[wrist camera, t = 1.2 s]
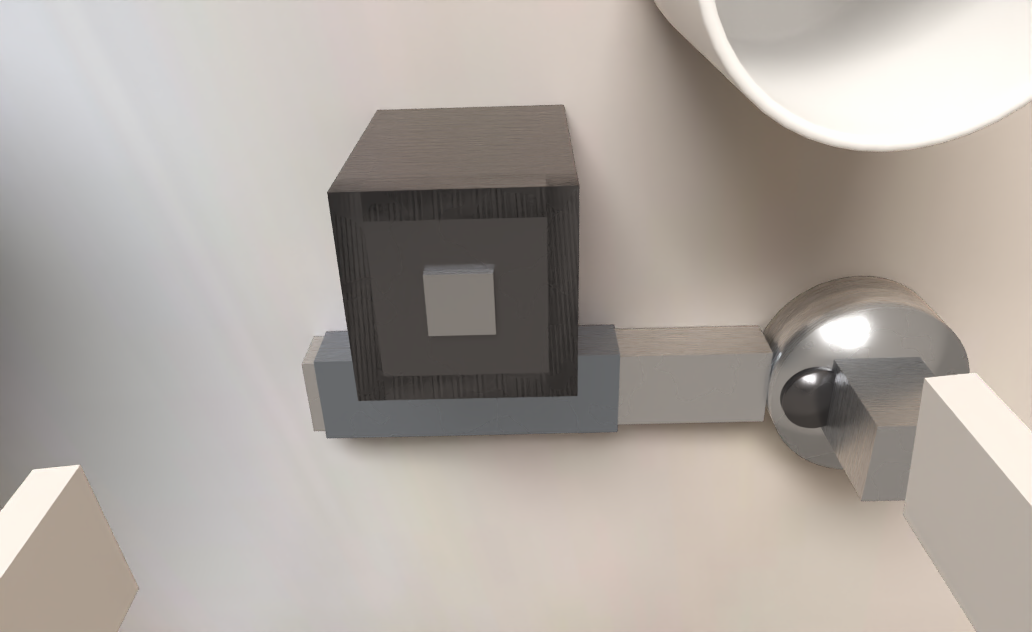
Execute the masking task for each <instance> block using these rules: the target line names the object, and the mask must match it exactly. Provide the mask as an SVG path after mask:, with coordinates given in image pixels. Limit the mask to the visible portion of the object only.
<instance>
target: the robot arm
mask: <svg viewBox="0 0 1032 632" xmlns="http://www.w3.org/2000/svg"><path fill="white" fill-rule="evenodd" d="M903 516H904V517H905V519H906V520H907V522H908V524H909V525H910V527H911V528H912V530H913V532H914V533H915V535H916V536H917V538H918V540H919V541H920V543H921V544H922V546H923V548H924V549H925V551H926V552H927V554H928V556H929V557H930V559H931V560H932V562H933V564H934V565H935V567H936V568H937V570H938V572H939V573H940V575H941V576H942V578H943V580H944V581H945V583H946V584H947V586H948V588H949V589H950V591H951V592H952V594H953V595H954V597H955V599H956V600H957V602H958V603H959V605H960V607H961V608H962V610H963V611H964V613H965V615H966V616H967V618H968V619H969V621H970V623H971V624H972V626H973V627H974V629H975V631H976V632H1032V431H1031V430H1030V429H1029V428H1028V427H1027V426H1026V425H1025V424H1024V423H1023V422H1022V421H1021V420H1020V419H1019V418H1018V417H1017V416H1016V415H1015V413H1014V412H1013V411H1012V410H1011V409H1010V408H1009V407H1008V406H1007V405H1006V404H1005V403H1004V402H1003V401H1002V400H1001V399H1000V398H999V397H998V396H997V394H996V393H995V392H994V391H993V390H992V389H991V388H990V387H989V386H988V385H987V384H986V383H985V382H984V381H983V380H982V379H981V378H980V377H979V375H978V374H977V373H968V374H958V375H948V376H938V377H929V378H924V384H923V390H922V397H921V403H920V409H919V416H918V422H917V429H916V435H915V441H914V448H913V454H912V460H911V467H910V473H909V479H908V486H907V492H906V499H905V505H904V511H903ZM138 590H139V587H138V585H137V583H136V581H135V579H134V577H133V575H132V573H131V571H130V568H129V566H128V564H127V562H126V560H125V558H124V556H123V554H122V552H121V549H120V547H119V545H118V543H117V541H116V539H115V537H114V535H113V533H112V531H111V528H110V526H109V524H108V522H107V520H106V518H105V516H104V514H103V512H102V509H101V507H100V505H99V503H98V501H97V499H96V497H95V495H94V493H93V490H92V488H91V486H90V484H89V482H88V480H87V478H86V476H85V474H84V471H83V469H82V467H81V465H72V466H62V467H53V468H43V469H33V470H32V471H31V473H30V474H29V475H28V477H27V478H26V479H25V481H24V482H23V483H22V484H21V486H20V487H19V488H18V490H17V491H16V492H15V493H14V495H13V496H12V497H11V499H10V500H9V501H8V502H7V504H6V505H5V506H4V508H3V509H2V510H1V511H0V632H118V630H119V628H120V626H121V624H122V622H123V620H124V618H125V616H126V614H127V612H128V610H129V608H130V606H131V604H132V602H133V600H134V598H135V596H136V594H137V592H138Z"/></svg>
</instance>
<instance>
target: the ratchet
mask: <svg viewBox="0 0 1032 632" xmlns="http://www.w3.org/2000/svg"><path fill="white" fill-rule="evenodd" d="M302 368H303V374H304V379H305V385H306V390H307V396H308V401H309V407H310V412H311V417H312V423H313V428H314V431H326V437H327V438H365V437H411V436H457V435H503V434H549V433H595V432H617V431H618V425H619V424H664V423H710V422H756V421H764V414H765V407H766V408H767V410H768V412H769V414H770V417H771V419H772V421H773V423H774V425H775V427H776V429H777V432H778V434H779V435H780V437H781V438H782V440H783V441H784V443H785V444H786V445H787V446H788V447H789V448H790V449H791V450H792V451H794V452H795V453H796V454H798V455H799V456H800V457H802V458H804V459H806V460H808V461H810V462H812V463H815V464H817V465H820V466H824V467H828V468H834V469H842V470H844V471H845V473H846V474H847V476H848V478H849V480H850V482H851V484H852V485H853V487H854V489H855V491H856V493H857V494H858V496H859V498H860V500H861V501H897V500H905V499H906V492H907V486H908V479H909V473H910V467H911V460H912V454H913V448H914V441H915V435H916V429H917V422H918V416H919V409H920V403H921V397H922V390H923V384H924V378H929V377H938V376H948V375H958V374H968V373H969V362H968V358H967V354H966V351H965V349H964V347H963V345H962V343H961V341H960V340H959V338H958V337H957V336H956V334H955V333H954V332H953V331H952V330H951V329H950V328H949V327H948V326H947V325H946V324H945V323H944V321H943V320H942V319H941V318H940V317H939V316H938V315H937V314H936V313H935V312H934V311H933V310H932V309H931V308H930V307H929V306H928V305H927V304H926V303H925V302H924V301H923V299H921V298H920V297H919V296H918V295H917V294H916V293H915V292H913V291H912V290H910V289H909V288H907V287H906V286H904V285H902V284H899V283H897V282H895V281H891V280H888V279H885V278H879V277H871V276H856V277H846V278H841V279H836V280H832V281H829V282H826V283H823V284H820V285H818V286H816V287H813V288H811V289H809V290H808V291H806V292H804V293H802V294H800V295H799V296H797V297H796V298H795V299H793V300H792V301H790V302H789V303H788V304H787V305H786V306H785V307H783V308H782V309H781V310H780V311H779V312H778V313H777V315H776V316H775V317H774V318H773V319H772V320H771V322H770V323H769V325H768V326H767V327H766V329H765V331H764V333H762V331H761V329H760V328H759V326H733V327H691V328H649V329H615V327H614V325H583V326H578V396H561V397H516V398H472V399H427V400H383V401H358V397H357V390H356V384H355V377H354V370H353V363H352V356H351V350H350V343H349V336H348V331H333V332H326V333H325V336H314V338H313V340H312V342H311V344H310V347H309V349H308V351H307V353H306V356H305V358H304V360H303V362H302Z"/></svg>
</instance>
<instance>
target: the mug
mask: <svg viewBox="0 0 1032 632" xmlns="http://www.w3.org/2000/svg"><path fill="white" fill-rule="evenodd" d="M654 2H655V4H656V5H657V7H658V8H659V10H660V11H661V12H662V13H663V15H664V16H665V17H666V19H667V20H668V21H669V22H670V23H671V25H672V26H673V27H674V28H676V29H677V30H678V31H679V32H680V33H681V34H682V35H683V36H684V37H685V38H686V39H687V40H688V41H689V42H690V43H691V44H692V45H693V46H694V47H695V48H696V49H697V50H698V51H699V52H700V53H701V54H702V55H703V56H705V57H706V58H707V59H708V60H709V61H710V62H711V63H712V64H713V65H714V66H715V67H716V68H717V69H718V70H719V71H720V72H721V73H722V74H723V75H724V76H725V77H726V78H727V79H728V80H729V81H730V82H731V83H732V84H734V85H735V86H736V87H737V88H738V89H739V90H740V91H741V92H742V93H743V94H744V95H745V96H746V97H747V98H748V99H749V100H750V101H751V102H752V103H753V104H754V105H755V106H756V107H758V108H759V109H760V110H761V111H762V112H763V113H764V114H766V115H767V116H769V117H770V118H771V119H773V120H774V121H776V122H777V123H779V124H780V125H781V126H783V127H785V128H787V129H789V130H791V131H793V132H795V133H797V134H799V135H801V136H803V137H805V138H807V139H810V140H813V141H816V142H819V143H822V144H825V145H829V146H832V147H838V148H843V149H849V150H854V151H869V152H891V151H903V150H913V149H918V148H923V147H927V146H932V145H937V144H942V143H945V142H948V141H951V140H954V139H957V138H960V137H963V136H966V135H969V134H971V133H974V132H976V131H978V130H980V129H983V128H985V127H987V126H989V125H992V124H994V123H996V122H998V121H1000V120H1001V119H1003V118H1005V117H1007V116H1008V115H1010V114H1012V113H1013V112H1015V111H1017V110H1019V109H1020V108H1022V107H1024V106H1025V105H1027V104H1028V103H1030V102H1031V101H1032V0H654Z"/></svg>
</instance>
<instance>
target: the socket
mask: <svg viewBox="0 0 1032 632" xmlns="http://www.w3.org/2000/svg"><path fill="white" fill-rule="evenodd" d="M327 194H328V201H329V207H330V214H331V221H332V228H333V234H334V241H335V248H336V255H337V262H338V268H339V275H340V282H341V289H342V295H343V302H344V309H345V316H346V323H347V329H348V336H349V343H350V350H351V356H352V363H353V370H354V377H355V384H356V390H357V397H358V401H383V400H427V399H472V398H516V397H561V396H578V281H579V182H578V177H577V171H576V166H575V161H574V156H573V151H572V145H571V140H570V135H569V130H568V125H567V120H566V114H565V109H564V105H539V106H504V107H469V108H435V109H400V110H377V112H376V113H375V115H374V117H373V118H372V120H371V121H370V123H369V125H368V126H367V128H366V130H365V131H364V133H363V135H362V136H361V138H360V140H359V141H358V143H357V144H356V146H355V148H354V149H353V151H352V153H351V154H350V156H349V158H348V159H347V161H346V162H345V164H344V166H343V167H342V169H341V171H340V172H339V174H338V176H337V177H336V179H335V181H334V182H333V184H332V185H331V187H330V189H329V190H328V192H327Z"/></svg>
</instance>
